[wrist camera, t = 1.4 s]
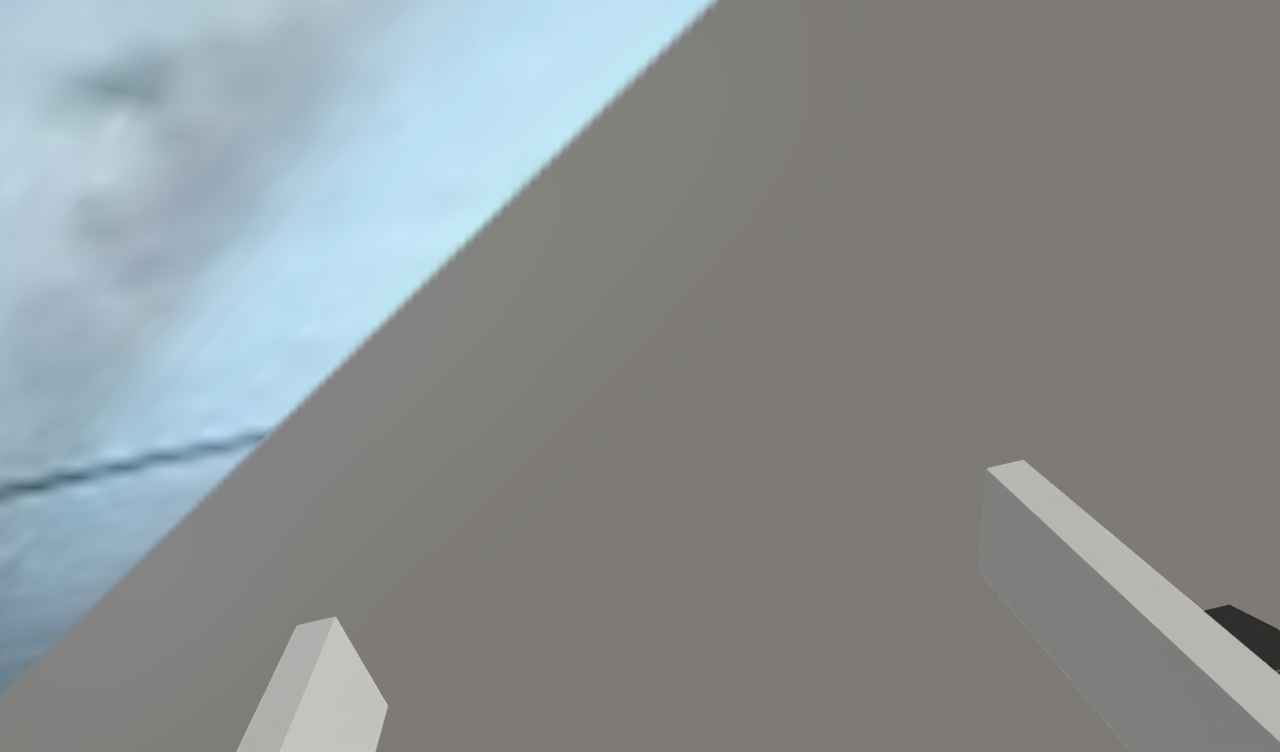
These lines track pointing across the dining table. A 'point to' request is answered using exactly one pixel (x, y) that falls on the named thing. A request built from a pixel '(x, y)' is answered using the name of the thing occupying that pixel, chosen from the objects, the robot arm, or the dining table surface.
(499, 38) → the dining table surface
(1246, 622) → the robot arm
